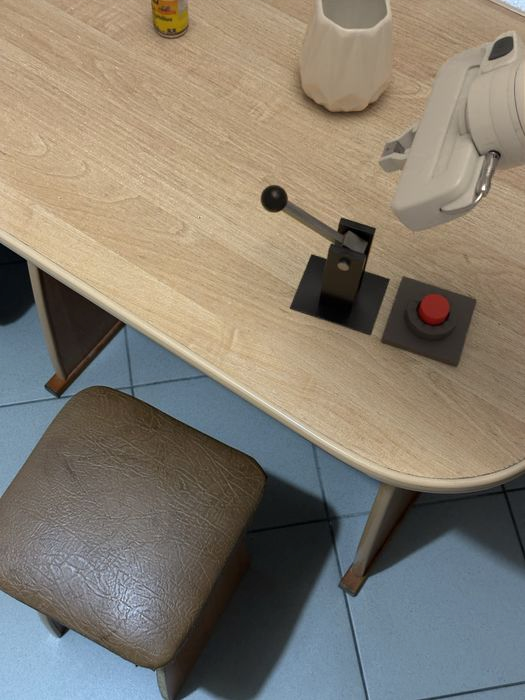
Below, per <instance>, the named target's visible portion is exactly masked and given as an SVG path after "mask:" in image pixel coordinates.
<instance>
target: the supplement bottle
mask: <svg viewBox="0 0 525 700" xmlns="http://www.w3.org/2000/svg"><path fill="white" fill-rule="evenodd" d="M150 5H151V13H152V23H153V24H152V25H153V28H154V30H155V31H156V33H157V34H159V35H160V36H162V37H165V38H171V39H172V38H177V37H181V36H182V35H184V34H185V33H186V32H187V30H188V28H189V25H190V23H189V22H190V21H189V6H188V5H189V3H188V0H150Z"/></svg>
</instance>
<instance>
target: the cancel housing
mask: <svg viewBox="0 0 525 700" xmlns="http://www.w3.org/2000/svg"><path fill="white" fill-rule="evenodd" d="M430 294H438V295H441V296H443V297H444V298H445V299H446V300H447V301H448V303H449V307H450V309H449V313H448V315H447V317H446V319H445V320H444V322H442V323H441V324H438V325H429V324H427V323H425V322H424V321H422V319H421V318H420V316H419V313H418V310H419V307H420V304H421V302H422V300H423V298H424V297H426V296H427V295H430ZM476 304H477V299H476V298H473V297H472V296H471V297H470V296H467V295H465V294H461V293H457V292H455V291H451V290H448V289H446V288H442V287H439V286H436V285H433V284H430V283H426V282H425V281H421V280H417V279H415V278H411V277H407V276H405V275H402V277H401V281H400V283H399V287H398V290H397V292H396V295H395V298H394V302H393V304H392V307H391V310H390V313H389V316H388V318H387V322H386V325H385V328H384V331H383V333H382V337H381V339H380V343H381V344H384V345H387V346H390V347H393V348H396V349H399V350H402V351H406V352H409V353H411V354H414V355H417V356H420V357H422V358H423V357H424V358H426V359H430V360H432V361H435V362H439V363H440V364H441V363H442V364H444V365H448V366H449V367H454V368H457V367H458V365H459V363H460V359H461V356H462V353H463V349H464V344H465V343H466V338H467V335H468V331H469V328H470V324H471V321H472V318H473V313H474V310H475V306H476Z"/></svg>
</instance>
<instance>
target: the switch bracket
mask: <svg viewBox="0 0 525 700" xmlns="http://www.w3.org/2000/svg"><path fill="white" fill-rule="evenodd" d="M336 231H337V232H339V233H340V234H342V235H344V234H345V233H346V232H348V231H351V232H352V233H354V234H355V235H357V236H359V237H360V238H362V239H363V240H365V241H366V242H368V243H367V246H366V249H365V251H364V254H363V253H360V252H357V251H354V250H351V249H348V248H344V247H341V246H338V245H335V244H334V243H332V242H330V245H329V247H328V251H327V254H326V255H327V256H326V257H322V256H320V255H316V254H313V253H311V254H310V257H309V258H308V261H307V264H306V267H305V268H304V271H303V273H302V276H301V279H300V281H299V284H298V286H297V288H296V291H295V294H294V296H293V299H292V301H291V304H290V306H289V310H292V311H294V312H298V313H301V314H304V315H307V316H310V317H313V318H316V319H319V320H322V321H326V322H328V323H331V324H335V325H338V326H341V327H344V328H346V329H349V330H353V331H356V332H358V333H362V334H364V335H367V336H371V334H372V332H373V330H374V326H375V323H376V321H377V318H378V315H379V312H380V309H381V306H382V303H383V300H384V298H385V296H386V295H385V294H386V292H387V288H388V287H389V286H388V285H389V283H390V278H388V277H385V276H382V275H379V274H376V273H372V272H369V271H366V269H367V265H368V262H369V257H370V254H371V250H372V247H373V244H374V243H373V242H374V238H375V234H376V231H377V228H376V227H374V226H370V225H367V224H364V223H362V222H358V221H355V220H352V219H348V218H345V217H340V219H339V222H338V225H337V230H336Z"/></svg>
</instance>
